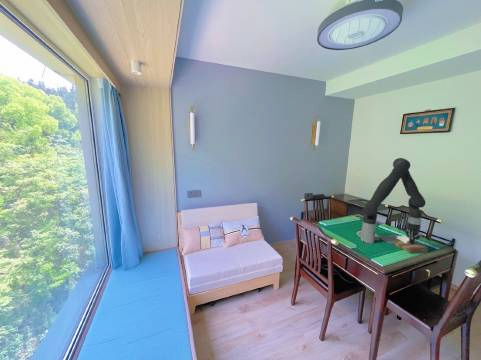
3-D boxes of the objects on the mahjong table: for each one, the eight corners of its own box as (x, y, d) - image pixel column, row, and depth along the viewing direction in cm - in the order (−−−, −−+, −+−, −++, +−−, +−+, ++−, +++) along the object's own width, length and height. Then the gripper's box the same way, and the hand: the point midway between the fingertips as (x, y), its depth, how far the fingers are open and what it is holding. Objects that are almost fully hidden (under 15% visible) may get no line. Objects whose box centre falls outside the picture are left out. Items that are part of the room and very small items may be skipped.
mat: (376, 236, 173) (376, 236, 173) (397, 235, 174) (397, 235, 174) (389, 243, 159) (389, 243, 159) (411, 242, 160) (411, 242, 160)
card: (396, 238, 160) (396, 236, 160) (403, 237, 161) (403, 235, 160) (406, 243, 151) (406, 241, 151) (413, 243, 152) (413, 240, 151)
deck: (394, 244, 158) (394, 240, 157) (410, 243, 159) (410, 239, 158) (410, 253, 144) (411, 248, 143) (427, 252, 145) (428, 247, 144)
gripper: (401, 219, 154) (399, 239, 156) (418, 225, 140) (415, 247, 143) (410, 219, 154) (408, 239, 157) (427, 225, 141) (424, 247, 144)
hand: (411, 243), depth 150 cm, fingers closed
